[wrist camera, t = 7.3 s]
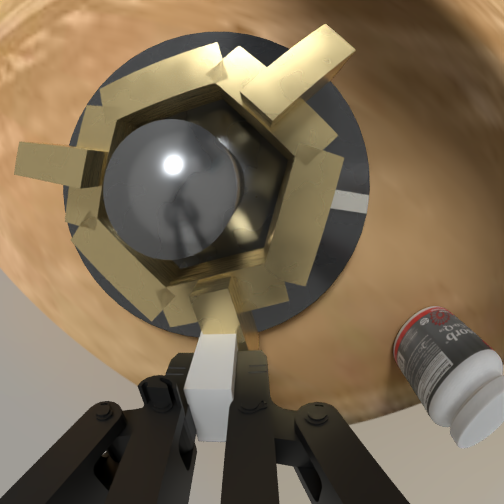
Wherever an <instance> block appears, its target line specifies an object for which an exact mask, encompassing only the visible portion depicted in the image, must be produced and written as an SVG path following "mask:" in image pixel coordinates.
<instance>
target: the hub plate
mask: <svg viewBox="0 0 504 504" xmlns="http://www.w3.org/2000/svg"><path fill="white" fill-rule="evenodd" d="M216 42H217V43H218V46H219V49H220V52H221V56H222V59H224V58H225V57H226V56H227V55H228V54H229V53H231V52H232V51H233V50H234V49H235V48H237V47H238V46H240V47H242V48H243V49H244V50H245V51H247V52H248V53H249V54H251V55H252V56H253V57H254V58H256V59H257V60H258V61H259V62H261V63H262V64H263V65H264V66H266V67H268V66H270V65H271V64H272V63H273V62H274V61H276V60H277V59H278V58H279V57H281V56H282V55H283V54H284V53H286V52H287V51H288V50H290V49H288V48H286V47H284V46H281V45H279V44H277V43H274V42H272V41H270V40H267V39H263V38H260V37H256V36H252V35H248V34H241V33H233V32H203V33H196V34H190V35H184V36H181V37H177V38H174V39H170V40H167V41H164V42H162V43H160V44H157V45H155V46H153V47H151V48H148V49H146V50H145V51H143V52H141V53H140V54H138V55H136V56H135V57H133V58H132V59H130V60H129V61H127V62H126V63H125V64H124V65H122V66H121V67H120V68H119V69H117V70H116V71H115V72H114V73H113V74H112V75H111V76H110V77H109V78H108V79H107V80H106V81H105V82H104V83H103V84H102V85H101V86H100V87H99V89H98V90H97V91H96V93H95V94H94V95H93V97H92V98H91V99H90V101H89V102H88V104H87V105H92V106H102V100H101V94H100V89H101V88H103V87H105V86H106V85H108V84H110V83H112V82H114V81H116V80H118V79H121V78H123V77H125V76H127V75H129V74H131V73H133V72H136V71H138V70H140V69H142V68H145V67H147V66H150V65H152V64H154V63H157V62H159V61H162V60H165V59H167V58H170V57H173V56H175V55H178V54H181V53H184V52H187V51H190V50H193V49H196V48H199V47H202V46H206V45H209V44H212V43H216ZM306 103H307V104H308V105H309V106H310V107H311V108H312V109H313V110H314V111H315V112H316V113H317V114H318V115H319V116H320V117H321V118H322V119H323V120H324V121H325V122H326V123H327V124H328V125H329V126H330V127H331V128H332V129H333V130H334V131H335V132H336V133H337V134H338V136H337V137H336V138H335V139H334V140H333V141H332V142H331V143H330V144H329V145H328V146H327V147H325V148H324V149H323V151H326V152H329V153H332V154H335V155H338V156H341V157H344V161H343V165H342V169H341V172H340V176H339V180H338V183H337V187H336V190H335V194H334V197H333V201H332V204H331V208H330V211H329V214H328V218H327V221H326V224H325V228H324V231H323V234H322V237H321V241H320V244H319V247H318V250H317V253H316V256H315V259H314V262H313V265H312V268H311V271H310V274H309V277H308V280H307V283H306V286H302V285H297V284H293V283H289V282H285V281H284V282H285V286H286V290H287V294H288V298H289V301H287V302H283V303H279V304H275V305H271V306H267V307H263V308H259V309H254V310H251V311H252V314H253V318H254V321H255V324H256V327H257V331H258V332H259V331H263V330H266V329H268V328H271V327H273V326H276V325H278V324H280V323H283V322H284V321H286V320H288V319H290V318H291V317H293V316H295V315H297V314H298V313H300V312H301V311H303V310H304V309H305V308H307V307H308V306H309V305H311V304H312V303H313V302H315V301H316V300H317V299H318V298H319V297H320V296H321V295H322V294H323V293H324V292H325V291H326V290H327V289H328V288H329V287H330V286H331V285H332V283H333V282H334V281H335V280H336V278H337V277H338V276H339V275H340V273H341V272H342V271H343V269H344V267H345V266H346V264H347V262H348V261H349V259H350V257H351V255H352V254H353V252H354V250H355V247H356V245H357V242H358V240H359V238H360V235H361V233H362V229H363V226H364V222H365V218H366V214H367V208H368V200H369V191H370V182H369V165H368V158H367V152H366V147H365V144H364V140H363V137H362V134H361V131H360V128H359V125H358V123H357V121H356V119H355V117H354V115H353V113H352V111H351V109H350V107H349V105H348V104H347V102H346V101H345V99H344V98H343V96H342V95H341V94H340V92H339V91H338V89H337V88H336V87H335V86H334V85H333V84H332V82H331V81H330V82H329V83H327V84H326V85H325V86H324V87H323V88H322V89H320V90H319V91H318V92H317V93H316V94H315V95H313V96H312V97H311V98H310V99H309V100H308V101H307V102H306ZM85 110H86V107H85V109H84V111H83V113H82V114H81V116H80V118H79V120H78V122H77V125H76V127H75V130H74V132H73V134H72V137H71V141H70V144H69V146H77V142H78V137H79V133H80V129H81V125H82V121H83V117H84V114H85ZM165 119H177V120H184V121H188V122H192V123H194V124H196V125H199V126H201V127H202V128H204V129H206V130H207V131H209V132H210V133H211V134H212V135H214V136H215V137H216V138H217V139H218V140H219V141H220V142H221V143H222V144H223V145H224V146H225V147H226V148H227V149H229V150H230V151H231V152H232V153H233V155H234V156H235V157H236V158H237V160H238V161H239V163H240V165H241V167H242V170H243V173H244V178H245V190H244V195H243V198H242V201H241V203H240V205H239V207H238V208H237V210H236V211H235V213H234V215H233V216H232V218H231V219H230V221H229V222H228V224H227V226H226V227H225V229H224V230H223V232H222V233H221V234H220V235H219V237H218V238H217V239H216V240H215V241H214V242H213V243H212V244H210V245H209V246H208V247H207V248H205V249H204V250H202V251H201V252H198V253H196V254H194V255H192V256H189V257H186V258H182V259H176V260H173V261H174V262H175V263H176V264H177V265H178V266H179V267H180V268H181V269H182V268H185V267H189V266H193V265H197V264H201V263H205V262H208V261H212V260H216V259H220V258H224V257H228V256H232V255H235V254H239V253H243V252H247V251H251V250H255V249H258V248H262V247H264V245H265V241H266V238H267V234H268V231H269V227H270V223H271V220H272V216H273V213H274V209H275V206H276V202H277V198H278V195H279V191H280V187H281V184H282V180H283V177H284V173H285V169H286V166H287V162H288V160H287V159H286V158H285V157H284V156H283V155H282V154H281V153H280V152H279V151H278V150H277V149H276V148H275V147H274V146H273V145H272V144H271V143H270V142H269V141H268V140H267V139H266V138H265V137H264V136H262V135H261V134H260V133H259V132H258V131H257V130H256V129H255V128H254V127H253V126H252V125H251V124H250V123H249V122H247V121H246V120H245V119H244V118H243V117H242V116H241V115H240V114H239V113H238V112H236V111H235V110H234V109H233V108H232V107H231V106H230V105H229V104H227V103H226V102H225V101H224V100H223V99H222V100H219V101H215V102H212V103H209V104H205V105H202V106H199V107H196V108H193V109H190V110H187V111H184V112H181V113H179V114H176V115H173V116H170V117H168V118H165ZM165 119H162V120H165ZM68 191H69V186H66V185H63V195H64V205H65V213H66V206H67V198H68ZM68 226H69V230H70V233H71V236H72V237H73V235H74V234H75V232H76V231H77V229H78V227H79V226H78V225H74V224H71V223H68ZM75 247H76V246H75ZM76 249H77V251H78V253H79V255H80V257H81V259H82V261H83V263H84V264H85V266H86V267H87V269H88V270H89V272H90V273H91V275H92V276H93V278H94V279H95V280H96V282H97V283H98V284H99V285H100V286H101V287H102V289H103V290H104V291H105V292H106V293H107V294H108V295H109V296H110V297H111V298H112V299H114V300H115V301H116V302H117V303H118V304H119V305H120V306H122V307H123V308H124V309H126V310H127V311H129V312H130V313H132V314H133V315H134V316H136V317H138V318H140V319H142V320H144V321H145V322H147V323H149V324H151V325H154V326H156V327H159V328H161V329H164V330H167V331H169V332H173V333H177V334H181V335H186V336H192V337H200V334H201V328H200V326H199V323H198V322H195V323H190V324H185V325H180V326H175V327H170V326H169V323H168V321H167V319H166V316H165V314H164V311H163V310H162V311H161V312H160V313H159V314H158V315H157V316H156V317H155V319H154V320H153V321H152V322H151V321H150V320H149V319H148V318H147V317H146V316H145V315H144V314H143V313H141V312H140V311H139V310H138V309H137V308H136V307H135V306H134V305H133V304H132V303H131V302H130V301H129V300H128V299H126V298H125V297H124V296H123V295H122V294H121V293H120V292H119V291H118V290H117V289H116V288H115V287H114V286H113V285H112V284H111V283H110V282H109V281H108V280H107V279H106V278H105V277H104V276H103V275H102V274H101V273H100V272H99V271H98V270H97V269H96V267H95V266H94V265H93V264H92V263H91V262H90V261H89V260H88V259H87V258H86V257H85V256H84V255H83V254H82V252H81V251H80V250H79V249H78V248H77V247H76Z"/></svg>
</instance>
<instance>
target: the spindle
mask: <svg viewBox="0 0 504 504" xmlns="http://www.w3.org/2000/svg"><path fill="white" fill-rule="evenodd" d="M244 190H245V178H244V173H243V170H242V167H241V165H240V163H239V161H238V160H237V158H236V157H235V156H234V155H233V153H232V152H231V151H230V150H229V149H227V148H226V147H225V146H224V145H223V144H222V143H221V142H220V141H219V140H218V139H217V138H216V137H215V136H214V135H212V134H211V133H210V132H209V131H207V130H206V129H204V128H202V127H201V126H199V125H196V124H194V123H192V122H188V121H184V120H177V119H165V120H158V121H154V122H151V123H148V124H146V125H144V126H141V127H140V128H138V129H136V130H135V131H133V132H132V133H131V134H129V135H128V136H127V137H126V138H125V139H124V140H123V141H122V142H121V143H120V144H119V146H118V147H117V149H116V150H115V151H114V153H113V155H112V157H111V159H110V161H109V163H108V166H107V169H106V173H105V177H104V184H103V196H104V204H105V209H106V212H107V215H108V218H109V220H110V222H111V224H112V226H113V228H114V229H115V231H116V233H117V234H118V235H119V236H120V237H121V239H122V240H123V241H124V242H125V243H126V244H128V245H129V246H130V247H131V248H133V249H134V250H136V251H138V252H139V253H141V254H143V255H146V256H149V257H152V258H156V259H163V260H176V259H182V258H186V257H189V256H192V255H194V254H196V253H198V252H201V251H202V250H204V249H205V248H207V247H208V246H209V245H210V244H212V243H213V242H214V241H215V240H216V239H217V238H218V237H219V235H220V234H221V233H222V232H223V230H224V229H225V227H226V226H227V224H228V222H229V221H230V219H231V218H232V216H233V215H234V213H235V211H236V210H237V208H238V207H239V205H240V203H241V201H242V198H243V195H244Z"/></svg>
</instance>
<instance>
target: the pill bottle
mask: <svg viewBox="0 0 504 504" xmlns="http://www.w3.org/2000/svg"><path fill="white" fill-rule="evenodd" d="M393 353H394V358H395V361H396V363H397V365H398V367H399V368H400V370H401V371H402V373H403V374H404V376H405V377H406V379H407V381H408V382H409V384H410V385H411V387H412V388H413V390H414V392H415V393H416V395H417V396H418V398H419V400H420V401H421V403H422V404H423V406H424V407H425V409H426V410H427V412H428V415H429V416H430V417H431V419H432V420H433V421H434V422H435V423H436V424H437V425H439V426H443V427H450V434H451V436H452V438H453V439H454V441H455V443H456V444H457V446H458V447H460V448H468V447H471V446H473V445H475V444H477V443H479V442H480V441H482V440H484V439H485V438H486V437H488V436H489V435H490V434H491V433H493V432H494V431H495V430H496V429H497V428H498V427H499V426H500V425H501V424H502V423H503V422H504V375H502V374H503V373H502V372H503V365H502V361H501V358H500V356H499V355H498V354H497V353H496V352H495V351H494V350H493V349H492V348H491V347H490V346H489V345H488V344H487V343H486V342H484V341H483V340H482V339H481V338H480V337H479V336H478V335H476V333H474V332H473V331H472V330H471V329H470V328H468V327H467V326H466V325H465V324H464V323H463V322H462V321H460V320H459V319H458V318H457V317H456V316H455V315H453V314H452V313H451V312H450V311H448V310H447V309H445V308H443V307H439V306H432V307H427V308H425V309H422V310H420V311H419V312H417V313H415V314H414V315H413V316H412V317H410V318H409V319H408V320H407V321H406V323H405V324H404V325H403V326H402V328H401V329H400V331H399V333H398V335H397V337H396V340H395V343H394V349H393Z"/></svg>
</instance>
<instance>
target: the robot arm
mask: <svg viewBox="0 0 504 504" xmlns="http://www.w3.org/2000/svg"><path fill="white" fill-rule="evenodd" d="M138 388H139V391H140V394H141V397H142V399H143V402H144V407H143V408H139V409H134V410H125V411H122V409H121V408H120V406H119V405H118V404H116V403H115V402H110V401H105V402H99V403H97V404H95V405H94V406H92V407H91V408H90V409H89V410H88V411H87V412H86V413H85V414H84V415H83V416H82V417H81V418H80V419H79V420H78V421H77V422H76V423H75V424H74V425H73V426H72V427H71V428H70V429H69V430H68V431H67V432H66V433H65V434H64V435H63V436H62V437H61V438H60V439H59V440H58V441H57V442H56V443H55V444H54V445H53V446H52V447H51V448H50V449H49V450H48V451H47V452H46V453H45V454H44V455H43V456H42V457H41V458H40V459H39V460H38V461H37V462H36V463H35V464H34V465H33V466H32V467H31V468H30V469H29V470H28V471H27V472H26V473H25V474H24V475H23V476H22V477H21V478H20V479H19V480H18V481H17V482H16V483H15V484H14V485H13V486H12V487H11V488H10V489H9V490H8V491H7V492H6V493H5V494H4V495H3V496H2V498H0V504H188V502H189V495H190V489H191V483H192V477H193V472H194V466H195V460H196V454H197V449H196V445H195V436H196V434H197V437H198V441H207V442H226V448H225V458H224V471H223V482H222V493H221V504H279V492H278V480H277V467H276V463H277V464H282V465H288V466H293V467H294V469H295V471H296V473H297V475H298V477H299V479H300V481H301V483H302V485H303V487H304V489H305V491H306V493H307V495H308V497H309V499H310V501H311V503H312V504H410V503H409V502H408V501H407V500H406V498H405V497H404V496H403V494H402V493H401V492H400V491H399V490H398V488H397V487H396V486H395V485H394V483H393V482H392V481H391V480H390V478H389V477H388V476H387V474H386V473H385V472H384V471H383V469H382V468H381V467H380V466H379V464H378V463H377V462H376V460H375V459H374V458H373V457H372V455H371V454H370V453H369V452H368V450H367V449H366V447H365V446H364V445H363V444H362V442H361V441H360V440H359V439H358V437H357V436H356V434H355V433H354V432H353V431H352V429H351V428H350V427H349V425H348V424H347V423H346V421H345V420H344V419H343V417H342V416H341V415H340V413H339V412H338V411H337V410H336V409H335V408H334V407H333V406H332V405H329V404H327V403H322V402H314V403H308V404H306V405H304V406H302V407H301V408H300V409H299V410H297V411H293V410H287V409H283V408H281V407H278V406H277V405H276V404H274V403H273V401H272V400H271V397H270V389H269V377H268V366H267V356H266V355H265V354H264V353H263V352H262V350H251V351H238V346H237V336H236V334H203V333H202V331H201V334H200V337H199V340H198V343H197V346H196V350H195V353H178V354H177V355H176V356H175V357H174V358H173V359H171V362H170V364H169V367H168V369H167V372H166V375H165V376H163V375H157V376H152V377H148V378H146V379H144V380H143V381H141V382H140V384H139V385H138ZM105 451H107V452H106V453H105V454H103V453H104V452H105Z"/></svg>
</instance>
